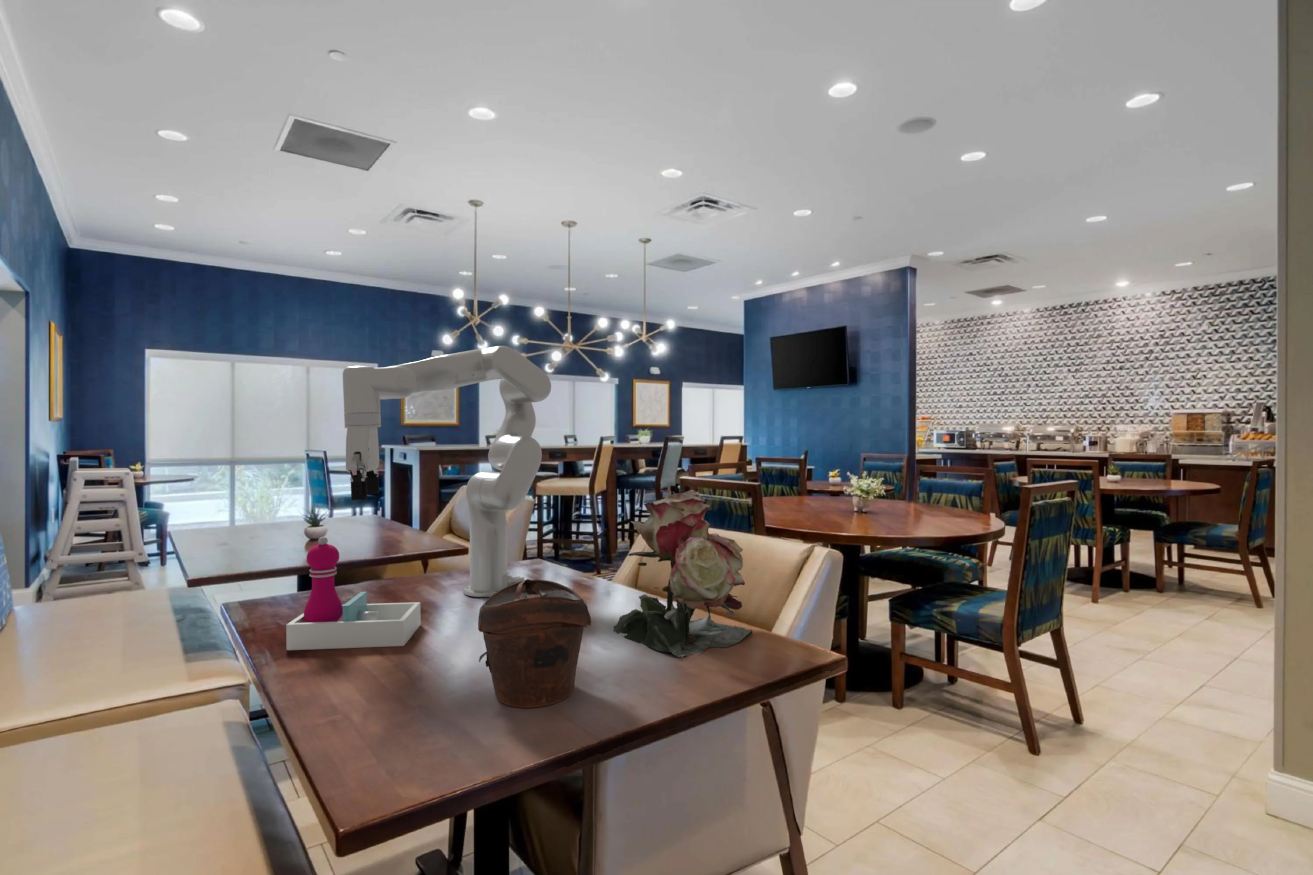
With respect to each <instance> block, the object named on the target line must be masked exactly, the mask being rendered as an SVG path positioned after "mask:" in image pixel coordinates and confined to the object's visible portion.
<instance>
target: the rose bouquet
mask: <svg viewBox="0 0 1313 875" xmlns="http://www.w3.org/2000/svg"><path fill="white" fill-rule="evenodd" d="M672 493H673V494H670V495H666V496H664V498H661V499H658V500H654V501H652V502H650V501H648V502H645V503H643V505H644V507H645V509H646V512H647V513H648V514H649V516H647V519H646V520H645V521H644V522H642V521H633V520H631V521H629V523H631V524H633V527H635V528H634V529H635V530H636V531H637V533H638V534H639V535H640V536H641V538H642V540H644V542H645V543H646V545H647V546H648V547H649V548H650V549H651V550H652V551H636V552H630V553H628V554H627V555H628V556H629V557H633V556H635V557H637V556H638V557H643V558H650V559H653V558H654V559H655V558H659V559H658V560H657V562H658V563H659V562H666V561H667V562H668V561H669V562H670V574H669V579H668V584H667V585H666V586H665V585H664V586H663V587H662V592H665V593H667V596H666V605H665V604H663V603H664V602H660V600H659V598H658V597H652V596H650V595H648V594H642V595H639V596H638V599H639V600H640V605H639V607H640V608H641V610H639V609H637V608H635V609H632V610H631V611H629V612H628V613H626V614H623V615H620V616H619V619H618V621H617V623H616V624H615V625H614V626H613V632H614V633H615V634H618V635H620V634H625V635H624V636H623V635H622V638H625V639H628V640H630V641H633V642H635V643H638V644H645V645H646V646H648V647H650V648H651V649H654V650H656V651H659V652H662V653H666V654H667V653H668V654H672V655H673V656H676V657H678V658H684V657H685V658H686V657H689V656H692V655H693V654H697V655H698V656H699V657H702V658H703V656H702V654H703V652H704V651H705V650H707V649H708V648H728V647H731V646H733V645H736V644H739V642H741V641H742V640H743V639H744V638H745V637H747V636H748V635H749V634H750V633H753V629H747V628H746V627H743V626H742V627H741V626H738V625H729V624H723V623H718V622H715V621H714V620H712V619H711V609H710V607H711V608H718V607H721V608H723V609H724V610H726V611H727V612H726V614H727V615H729V616H731V617H735V616H736V615H735V613H734V611H732V610H735V611H737V610H741V608H743V602H742V601H740V600H738V599H737V598H738V596H737V595H732V594H731V593H730V592H732V590H733V589H734V587H737V586H739V585H740V586H741V585H742V586H745V585H746V583H745V580H744V579H743V576H742V574H741V573H740V572H739V571H741V570H742V569H743V566H744V557H743V555H742V552H743V550H744V549H743V548H742V547H741V546H740V545H739V544H738V542H737V541H735V540H734V539H732V538H728V537H726V536H722V535H720V534H719V533H709V529H710V526H711V523H710V522H708V520H705V515H706V512H708V510H709V509H710V507H711V506H710V504H707V503H705V502H706V501H705V500H704V499H703V498H702V495H700V492H699V491H695V490H694V489H693V490H692V489H690V490H688V491H684V492H683V493H675V492H674V491H672ZM654 563H656V560H655V561H654ZM637 565H638V566H640V567H645V566H646V567H647V565H648V564H647V562H637ZM654 589H658V590H659V588H658V587H657V586H656V587H654ZM678 599H681V600H682V601H679V600H678ZM674 600H676V607H675V605H674V603H673V602H674ZM703 607H704V608H705V610H706V611H707V613H708V614H707V616H706V617H705V618H699V619H697V620H696V619H695V620H691V619H692V617H693V615H694V614H695V611H696V609H701V608H703ZM731 609H732V610H731ZM690 634H691V635H692V636H693V637H694V639H693V640H691V637H690ZM690 640H691V641H690ZM687 641H690V642H688V645H689V646H687V643H686V642H687Z"/></svg>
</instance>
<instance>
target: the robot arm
mask: <svg viewBox="0 0 1313 875" xmlns="http://www.w3.org/2000/svg"><path fill="white" fill-rule="evenodd" d="M494 380H499V384H498V385H499V394H500V396H501V398H502V402H503V405H504V409H505V414H504V418H503V420H502V424H501V426H500V428H499V430H498V432H497V433H496V436H495V437H494V440H493V442H492V444H491V445H490V447H489V451H488V453H487V459H488V463H489V464H490V466H491V467H492V468H494V469H496V470H499V471H500V472H499V471H489V470H485V471H481V472H480V471H479V472H477V473H475V474H474V475H472V476H471V477H470V478H469V479H468V482H467V484H466V488H465V495H466V503H467V508H468V509H467V510H468V516H469V518H468V519H469V584H468V585H467V586H465V587H464V588H463V593H464V595H466V596H468V597H472V598H473V597H475V598H490V597H491V596H492V595H493V594H495V593H497V592H498V591H500V590H501V589H503V588H505V587H507V586H510V585H512V584H515V583H518V582H521V581H524V580H525V577H523V576H521V575H520V576H519V575H517V576H516V575H515V576H513V575H510V571H508V523H507V522H508V520H507V515H506V512H505V511H507V512H509V511H513V510H516V509H517V508H518V507H519V506H521V505H522V503H523V502H524V501H525V499H526V497H527V495H528V493H529V490H530V488H531V487H532V485H533V482H534V480H535V477H536V476H537V474H538V471H539V469H540V466H541V463H542V457H543V453H542V452H543V450H542V448H541V445H540V443H539V442H538V441H537V440H536V439H535V438H533V437H532V435H533V433H534V430H535V427H536V423H537V420H536V414H535V409H534V406H533V403H539V402H542V401H544V400H546V399H547V398H548V397H549V396H550V393H551V391H552V381H551V379H550V377H549V376H548V375H547V373H546V372H545V371H544V370H542V369H541V367H539V366H538V365H536V364H535V363H533V362H532V361H531V360H530V359H528V358H526V357H525V356H524V355H522V354H521V353H520V352H518V351H517V350H515V349H513V348H511V347H510V346H506V345H495V346H489V347H482V348H478V349H477V348H476V349H471V350H466V351H459V352H455V353H449V354H448V353H447V354H442V355H439V356H434V357H429V358H426V359H422V360H418V361H413V362H408V363H402V364H398V365H397V364H396V365H390V366H385V367H374V366H369V365H353V366H346V367H345V368H344V369H343V371H342V389H343V390H342V392H343V415H344V416H343V418H344V429H346V436H345V470H346V472H347V473H350V477H349V478H350V479H349V481H350V496H351V500H352V501H361V500H362V501H364V500H367V499H368V495H378V494H380V482H379V481H380V480H379V479H380V478H379V470H378V469H379V467H380V448H379V447H380V446H379V445H380V444H379V435H378V428H382V420H381V419H382V418H381V400H397V399H404V398H405V399H406V398H408V397H410V396H412V395H413V394H414V393H421V392H430V391H436V392H437V391H444V390H452V389H457V388H461V387H465V386H469V385H474V384H478V383H485V382H489V381H494Z"/></svg>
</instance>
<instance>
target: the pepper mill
mask: <svg viewBox="0 0 1313 875" xmlns="http://www.w3.org/2000/svg"><path fill="white" fill-rule="evenodd" d="M317 542H318V544H317V545H313V546H312V547H311V548H310V549H309V550H308V552H307V554H306V558H305V559H306V563H307V564H308V565H309V567H310V569H309V572H310V573H309V575H308V576H309V577H311V590H310V594H309V597H308V599H307V601H306V603H305V605H304V608H303V613H304V619H305V621H306V622H307V623H311V622H338V620H339V619H340V618H341V616H342V614H343V606H342V605H343V604H342V600H341V599H340V597H339V596H338V595H339V594H338V593H337V591H336V586H335V585H336V584H335V575H338V574H337V573H338V572H337V566H336V564H337V563H338V562H339V561H340V552H339V550H338V548H337V547H336V546H335V545H333V544H330V543H328V542H329V541H328V538H327V537H325V536H321V537H319V538H318V540H317Z"/></svg>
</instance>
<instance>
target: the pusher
mask: <svg viewBox="0 0 1313 875" xmlns="http://www.w3.org/2000/svg"><path fill="white" fill-rule="evenodd" d="M367 604H368V592H367V591H360V592H359V593H358V594H355V596H353V597H352V598H350V600H348V601H346V602H345V603H344V604H342V605H343V621H370V620H378V611H367Z"/></svg>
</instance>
